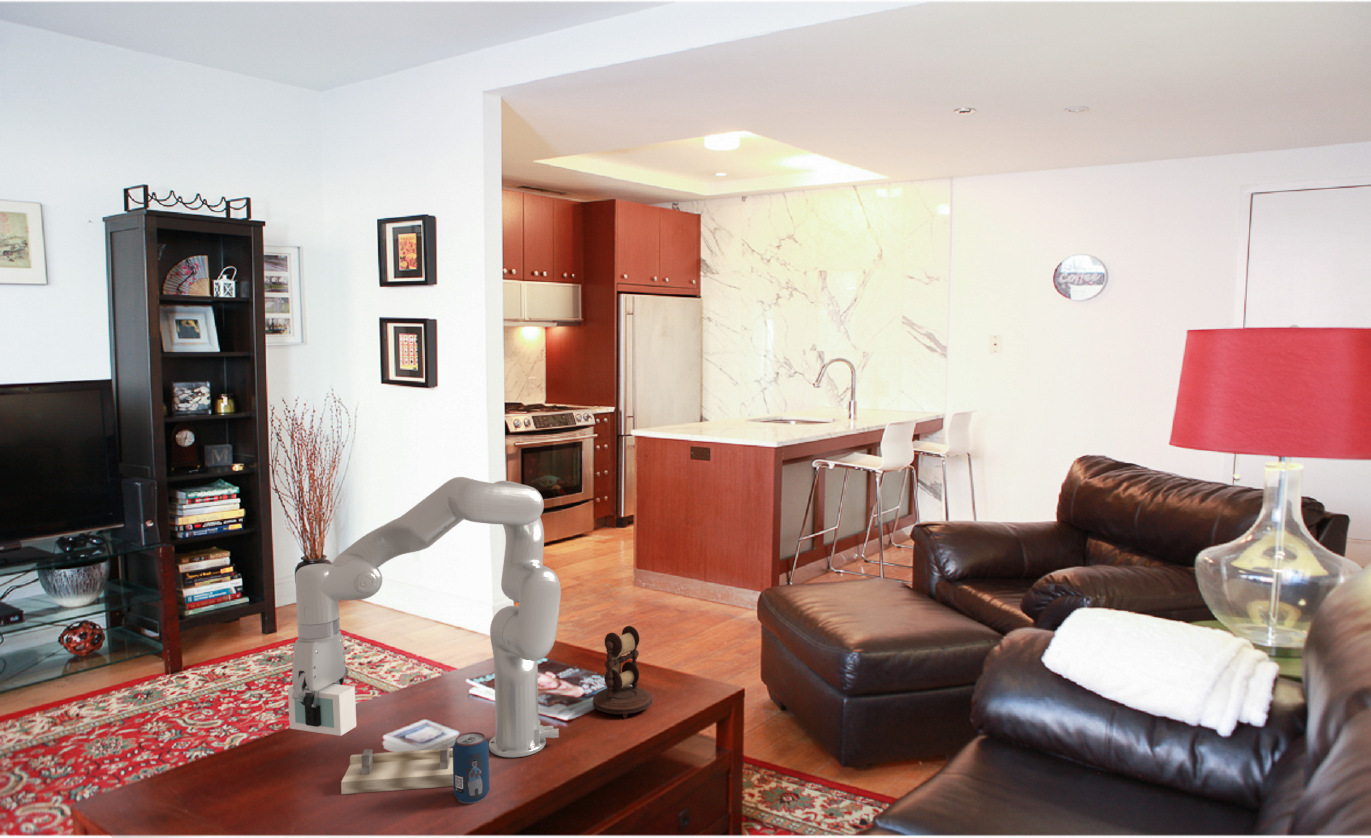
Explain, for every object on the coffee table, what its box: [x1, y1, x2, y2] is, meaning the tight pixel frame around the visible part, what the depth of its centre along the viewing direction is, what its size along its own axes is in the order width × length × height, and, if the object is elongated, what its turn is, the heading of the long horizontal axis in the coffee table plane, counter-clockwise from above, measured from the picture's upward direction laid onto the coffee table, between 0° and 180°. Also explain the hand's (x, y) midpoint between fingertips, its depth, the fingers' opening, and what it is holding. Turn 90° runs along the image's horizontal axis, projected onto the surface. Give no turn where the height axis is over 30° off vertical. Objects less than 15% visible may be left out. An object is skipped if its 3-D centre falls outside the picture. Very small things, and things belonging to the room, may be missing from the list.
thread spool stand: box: [592, 625, 653, 720], centre depth 218 cm, size 15×15×20 cm
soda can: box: [452, 731, 490, 805], centre depth 174 cm, size 7×7×12 cm
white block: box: [287, 684, 357, 737], centre depth 171 cm, size 12×4×8 cm, turn 72°
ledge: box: [340, 743, 453, 795], centre depth 182 cm, size 24×9×6 cm, turn 98°
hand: (322, 719), depth 171 cm, fingers closed on white block, 4 cm apart
